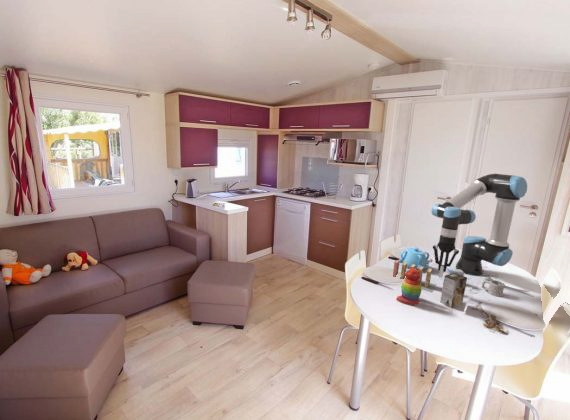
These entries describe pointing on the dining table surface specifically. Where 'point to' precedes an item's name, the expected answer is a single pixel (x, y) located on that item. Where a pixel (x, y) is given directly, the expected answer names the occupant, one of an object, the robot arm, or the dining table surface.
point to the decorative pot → (414, 257)
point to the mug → (494, 287)
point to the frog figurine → (494, 325)
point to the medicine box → (454, 271)
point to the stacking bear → (411, 288)
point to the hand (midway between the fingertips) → (440, 276)
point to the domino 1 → (396, 268)
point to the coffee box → (453, 290)
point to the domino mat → (430, 288)
